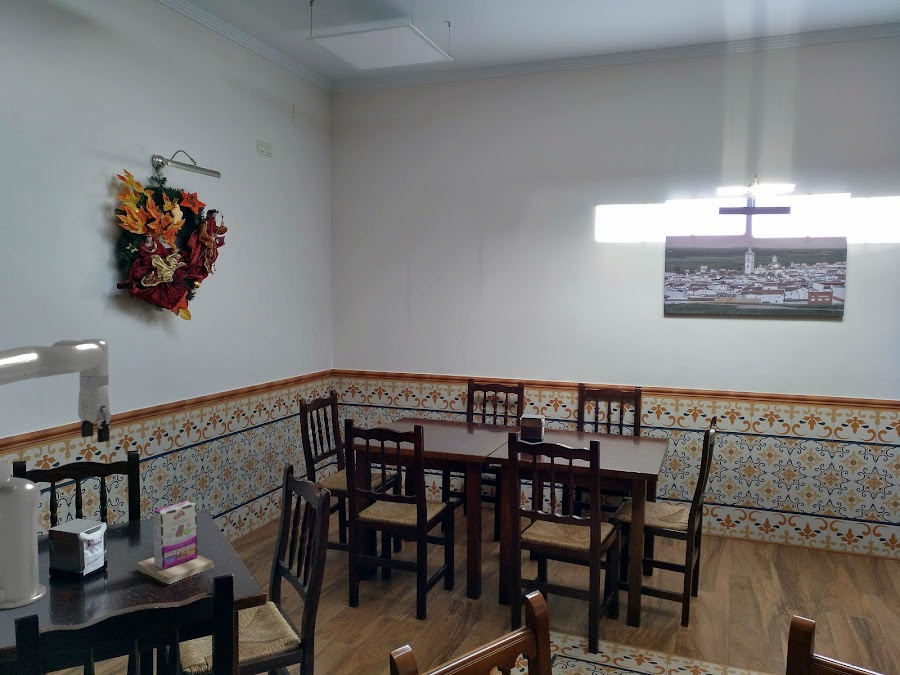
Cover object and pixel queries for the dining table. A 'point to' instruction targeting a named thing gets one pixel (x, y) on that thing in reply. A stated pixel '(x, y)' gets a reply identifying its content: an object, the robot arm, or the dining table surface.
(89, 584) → the dining table surface
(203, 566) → the pale wooden block
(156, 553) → the candy bar box
